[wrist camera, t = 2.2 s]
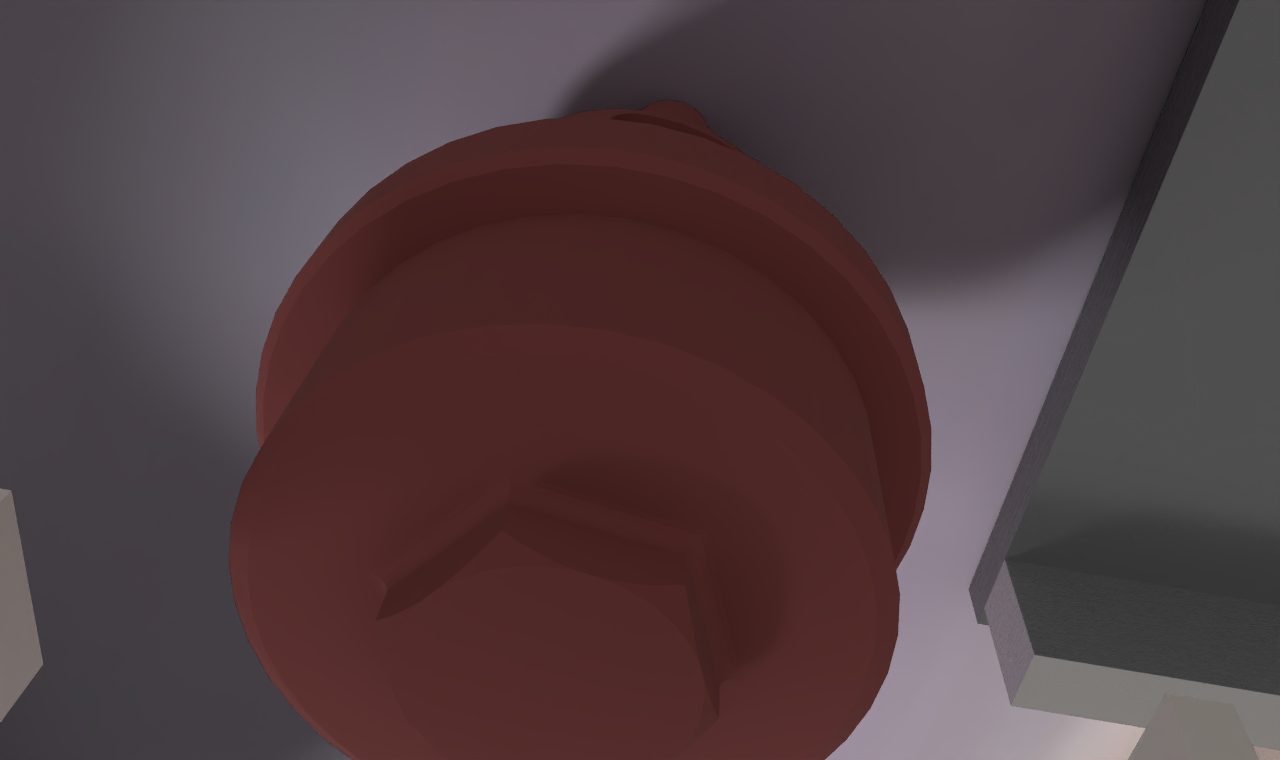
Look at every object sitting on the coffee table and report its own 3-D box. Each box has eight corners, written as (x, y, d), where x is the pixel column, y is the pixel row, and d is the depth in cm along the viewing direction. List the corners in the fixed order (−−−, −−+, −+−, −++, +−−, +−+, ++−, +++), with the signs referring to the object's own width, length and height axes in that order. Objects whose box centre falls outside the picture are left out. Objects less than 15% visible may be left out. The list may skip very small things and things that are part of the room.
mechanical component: (356, 369, 26) (453, -74, 21) (768, 495, 27) (958, 102, 22) (91, 834, 15) (155, 162, 10) (789, 1014, 16) (1171, 487, 11)
